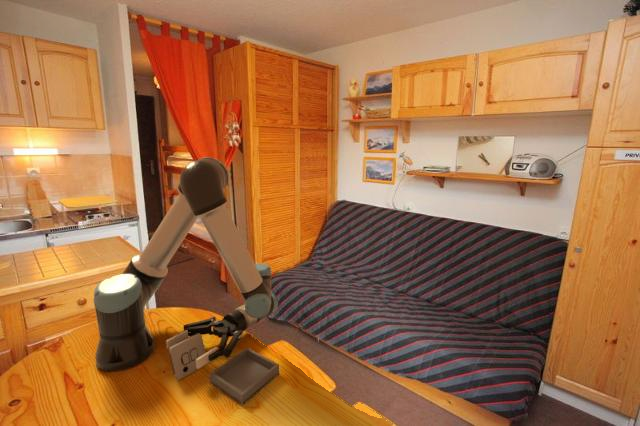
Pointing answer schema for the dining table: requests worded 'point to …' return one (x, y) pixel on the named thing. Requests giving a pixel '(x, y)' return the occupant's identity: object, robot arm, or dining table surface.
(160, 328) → the dining table surface
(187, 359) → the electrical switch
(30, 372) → the dining table surface
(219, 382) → the box
